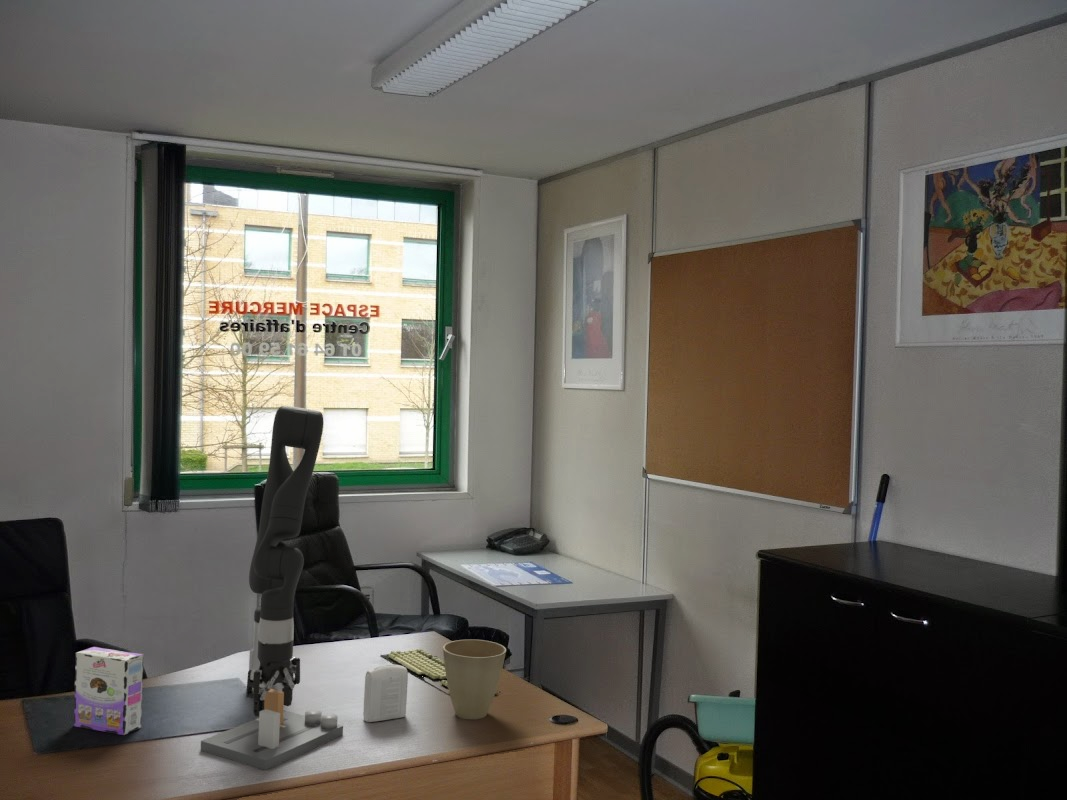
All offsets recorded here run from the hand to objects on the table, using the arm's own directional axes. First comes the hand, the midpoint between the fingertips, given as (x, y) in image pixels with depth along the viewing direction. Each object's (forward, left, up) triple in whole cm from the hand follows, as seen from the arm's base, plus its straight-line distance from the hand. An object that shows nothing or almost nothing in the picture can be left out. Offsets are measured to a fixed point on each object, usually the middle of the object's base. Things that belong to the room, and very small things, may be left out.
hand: (272, 710), depth 224 cm
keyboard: (+6, +58, -6) cm, 59 cm away
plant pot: (+29, +36, -5) cm, 47 cm away
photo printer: (+14, +22, -5) cm, 27 cm away
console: (+4, -4, -5) cm, 8 cm away
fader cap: (0, 0, -3) cm, 3 cm away
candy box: (-31, -18, -5) cm, 36 cm away
